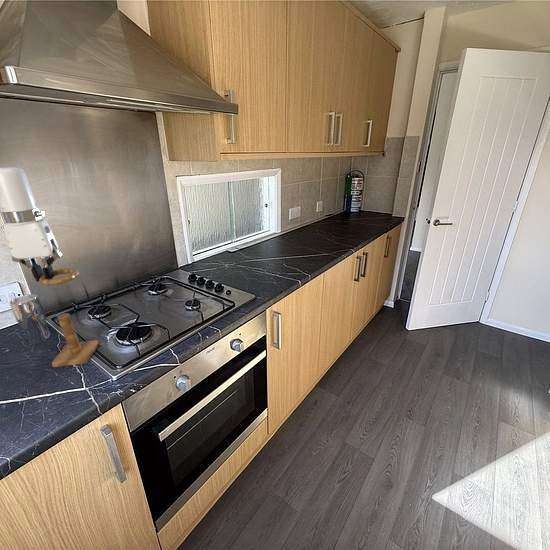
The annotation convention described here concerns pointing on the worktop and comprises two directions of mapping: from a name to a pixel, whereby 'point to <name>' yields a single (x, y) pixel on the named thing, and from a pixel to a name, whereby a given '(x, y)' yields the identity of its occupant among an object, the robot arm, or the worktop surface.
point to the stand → (73, 345)
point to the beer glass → (31, 317)
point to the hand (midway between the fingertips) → (45, 278)
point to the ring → (68, 278)
